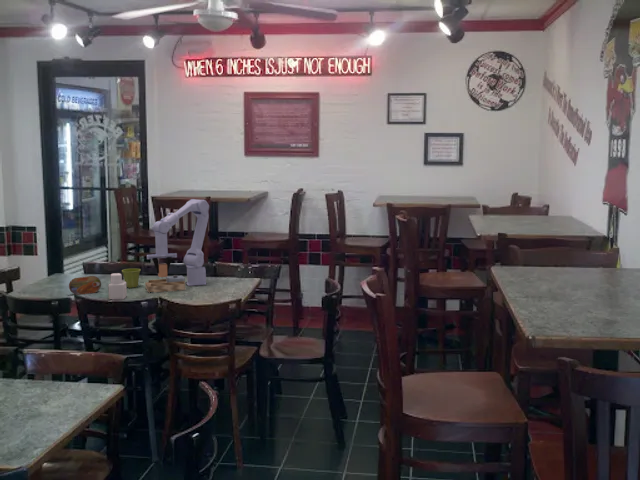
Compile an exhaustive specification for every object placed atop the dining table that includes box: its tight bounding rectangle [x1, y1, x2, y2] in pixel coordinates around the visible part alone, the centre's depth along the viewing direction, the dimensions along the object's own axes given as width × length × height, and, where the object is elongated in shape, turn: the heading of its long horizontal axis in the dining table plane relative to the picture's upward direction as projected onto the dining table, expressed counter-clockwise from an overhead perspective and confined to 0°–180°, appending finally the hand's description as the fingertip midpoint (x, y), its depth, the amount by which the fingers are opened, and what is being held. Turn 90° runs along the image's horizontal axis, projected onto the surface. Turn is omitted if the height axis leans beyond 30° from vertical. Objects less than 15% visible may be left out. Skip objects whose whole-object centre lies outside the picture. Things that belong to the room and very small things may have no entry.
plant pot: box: [121, 268, 141, 289], centre depth 362 cm, size 9×9×9 cm
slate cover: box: [165, 274, 186, 282], centre depth 356 cm, size 8×8×4 cm
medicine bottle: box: [107, 272, 128, 300], centre depth 335 cm, size 7×7×12 cm
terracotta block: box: [157, 262, 169, 278], centre depth 351 cm, size 4×4×6 cm
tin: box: [68, 275, 102, 296], centre depth 346 cm, size 15×3×8 cm, turn 122°
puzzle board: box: [144, 278, 186, 294], centre depth 355 cm, size 18×12×4 cm, turn 111°
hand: (162, 272), depth 352 cm, fingers closed on terracotta block, 4 cm apart
